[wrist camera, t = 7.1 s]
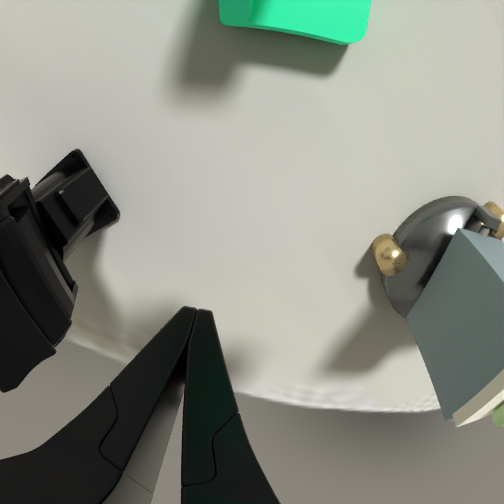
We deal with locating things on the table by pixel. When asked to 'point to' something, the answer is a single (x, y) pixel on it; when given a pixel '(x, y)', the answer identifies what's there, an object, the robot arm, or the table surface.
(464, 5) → the table surface
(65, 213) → the robot arm
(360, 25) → the camera mount
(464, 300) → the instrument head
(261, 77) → the table surface
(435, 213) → the tribrach base
